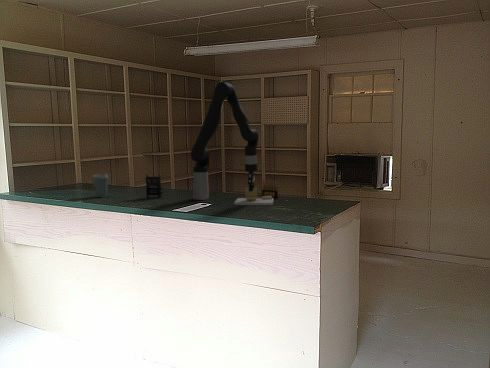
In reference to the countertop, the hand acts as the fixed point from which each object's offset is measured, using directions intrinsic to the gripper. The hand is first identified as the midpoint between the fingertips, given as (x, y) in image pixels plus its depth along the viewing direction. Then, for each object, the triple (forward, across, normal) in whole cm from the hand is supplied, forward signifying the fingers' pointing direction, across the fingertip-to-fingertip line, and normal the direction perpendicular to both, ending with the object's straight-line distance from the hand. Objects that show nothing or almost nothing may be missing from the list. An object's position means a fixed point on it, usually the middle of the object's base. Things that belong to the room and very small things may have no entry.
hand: (251, 190), depth 260 cm
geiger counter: (+7, -16, -65) cm, 68 cm away
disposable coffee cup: (+6, -17, -102) cm, 104 cm away
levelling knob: (+6, 0, 0) cm, 6 cm away
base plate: (+8, +1, +2) cm, 8 cm away
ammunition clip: (+8, -18, +10) cm, 21 cm away
